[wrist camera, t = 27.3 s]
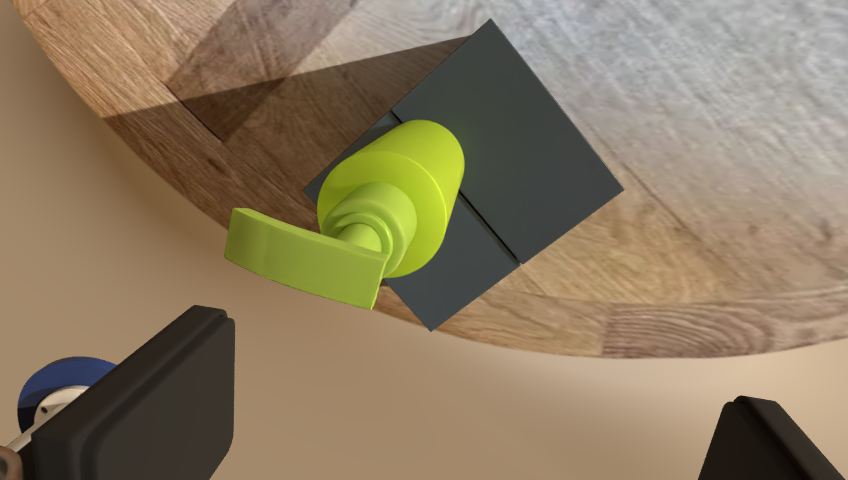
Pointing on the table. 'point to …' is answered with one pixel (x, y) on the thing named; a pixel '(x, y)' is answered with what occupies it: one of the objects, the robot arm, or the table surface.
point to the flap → (441, 251)
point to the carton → (512, 143)
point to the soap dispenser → (361, 219)
